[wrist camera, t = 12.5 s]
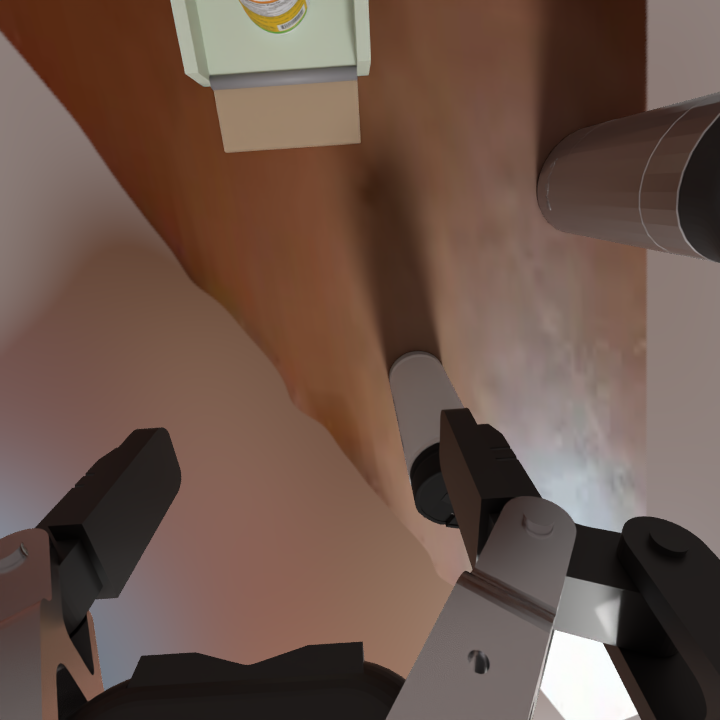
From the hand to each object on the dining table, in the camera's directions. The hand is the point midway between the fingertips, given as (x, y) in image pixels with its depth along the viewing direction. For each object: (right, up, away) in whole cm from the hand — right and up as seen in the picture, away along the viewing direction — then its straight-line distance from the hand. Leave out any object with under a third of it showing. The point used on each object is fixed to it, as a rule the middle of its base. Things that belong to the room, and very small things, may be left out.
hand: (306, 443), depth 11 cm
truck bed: (-5, +29, +20) cm, 36 cm away
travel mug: (+8, +1, +33) cm, 34 cm away
